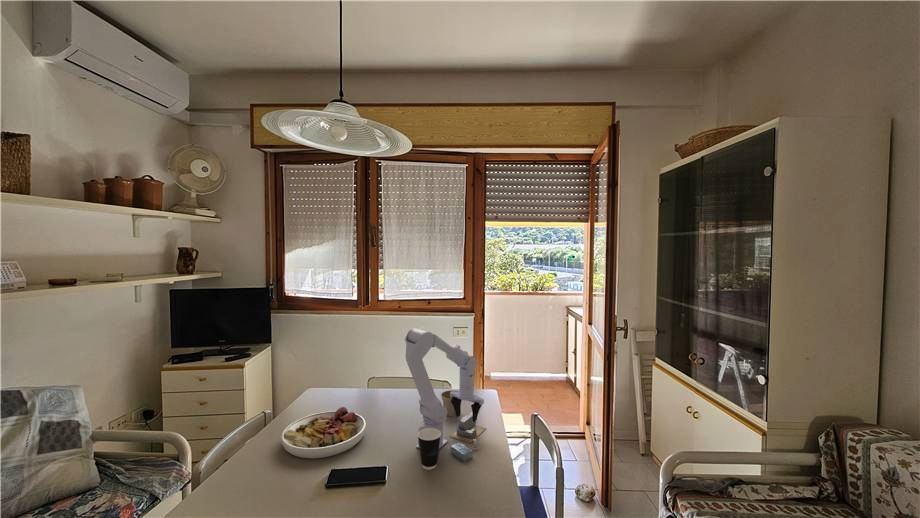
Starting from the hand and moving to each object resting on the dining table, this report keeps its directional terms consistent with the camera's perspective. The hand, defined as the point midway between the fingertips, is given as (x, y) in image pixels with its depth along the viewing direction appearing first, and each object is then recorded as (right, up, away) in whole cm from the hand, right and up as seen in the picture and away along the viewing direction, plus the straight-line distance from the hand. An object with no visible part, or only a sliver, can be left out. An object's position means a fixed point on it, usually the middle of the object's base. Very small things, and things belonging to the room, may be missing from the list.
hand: (466, 418), depth 152 cm
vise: (0, -6, -16) cm, 17 cm away
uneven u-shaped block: (+2, -5, -1) cm, 5 cm away
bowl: (-54, -6, -7) cm, 55 cm away
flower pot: (-6, -5, +16) cm, 18 cm away
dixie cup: (-13, -6, -24) cm, 28 cm away
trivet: (+1, -5, -2) cm, 5 cm away
